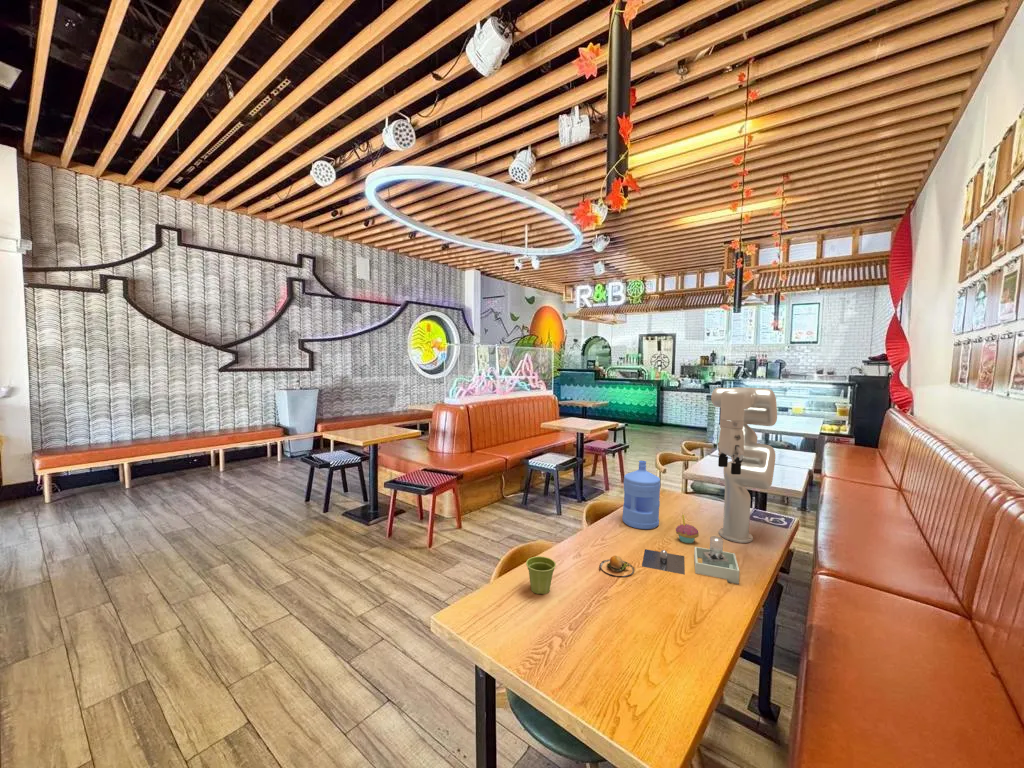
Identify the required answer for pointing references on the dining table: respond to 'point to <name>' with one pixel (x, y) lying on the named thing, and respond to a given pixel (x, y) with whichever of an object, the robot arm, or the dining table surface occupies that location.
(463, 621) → the dining table surface
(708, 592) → the dining table surface
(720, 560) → the grey piece
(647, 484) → the water jug
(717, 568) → the bin
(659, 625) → the dining table surface
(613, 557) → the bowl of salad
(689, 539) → the cupcake
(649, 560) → the stud block
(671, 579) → the dining table surface
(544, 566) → the plant pot
